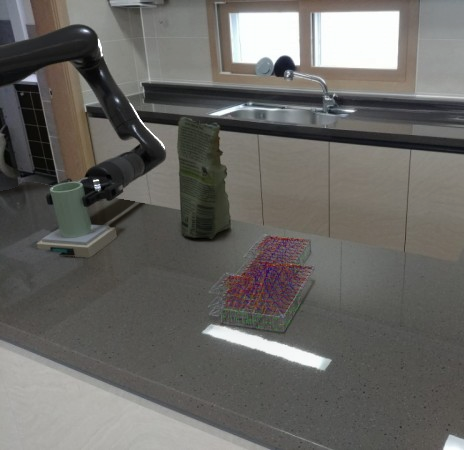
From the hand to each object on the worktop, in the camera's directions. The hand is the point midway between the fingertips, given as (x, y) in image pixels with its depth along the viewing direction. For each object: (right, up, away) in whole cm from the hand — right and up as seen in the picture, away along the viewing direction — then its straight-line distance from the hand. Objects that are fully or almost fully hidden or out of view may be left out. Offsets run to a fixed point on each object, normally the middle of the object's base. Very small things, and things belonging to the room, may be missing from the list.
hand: (66, 201), depth 109 cm
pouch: (+28, -6, +9) cm, 30 cm away
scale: (+1, -9, +5) cm, 10 cm away
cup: (+1, -6, +4) cm, 7 cm away
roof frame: (+42, -15, -14) cm, 47 cm away
